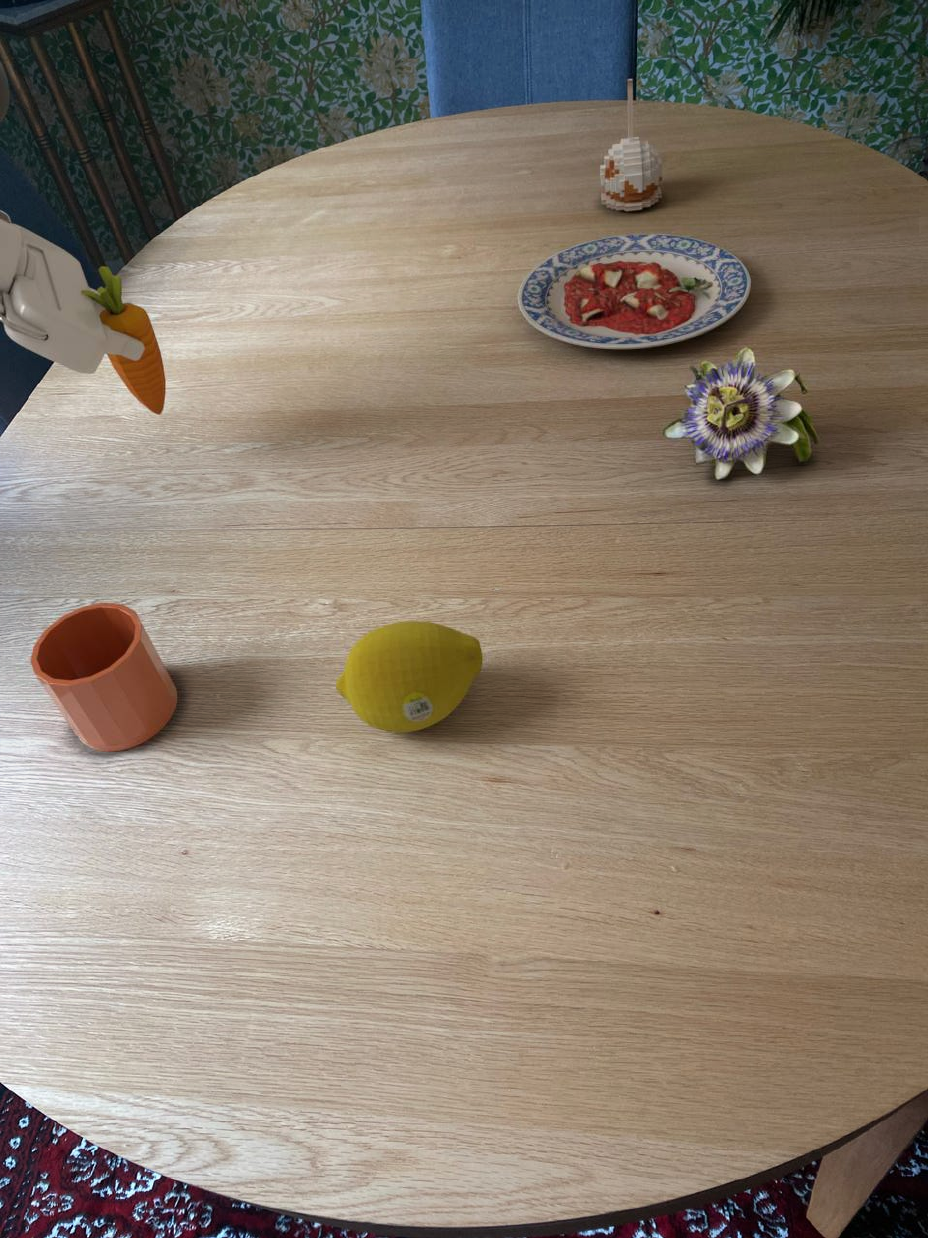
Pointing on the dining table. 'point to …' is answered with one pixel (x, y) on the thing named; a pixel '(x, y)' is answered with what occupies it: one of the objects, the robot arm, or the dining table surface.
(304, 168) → the dining table surface
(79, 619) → the pot
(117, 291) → the carrot
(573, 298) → the ceramic plate
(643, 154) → the decorative ornament
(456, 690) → the lemon
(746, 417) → the passion flower
